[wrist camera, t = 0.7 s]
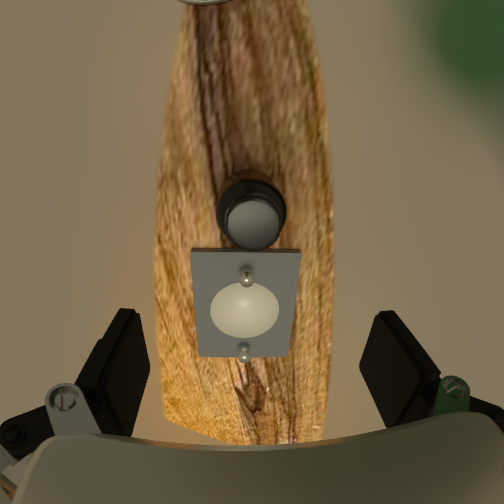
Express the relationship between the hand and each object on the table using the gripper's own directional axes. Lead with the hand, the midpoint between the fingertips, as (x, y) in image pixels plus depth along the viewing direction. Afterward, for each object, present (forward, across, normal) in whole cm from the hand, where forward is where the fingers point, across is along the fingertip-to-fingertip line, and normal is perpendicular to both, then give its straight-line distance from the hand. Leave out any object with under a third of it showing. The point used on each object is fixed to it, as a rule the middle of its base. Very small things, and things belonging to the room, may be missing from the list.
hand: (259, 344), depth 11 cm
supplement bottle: (+26, 0, -1) cm, 27 cm away
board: (+27, -1, +15) cm, 31 cm away
